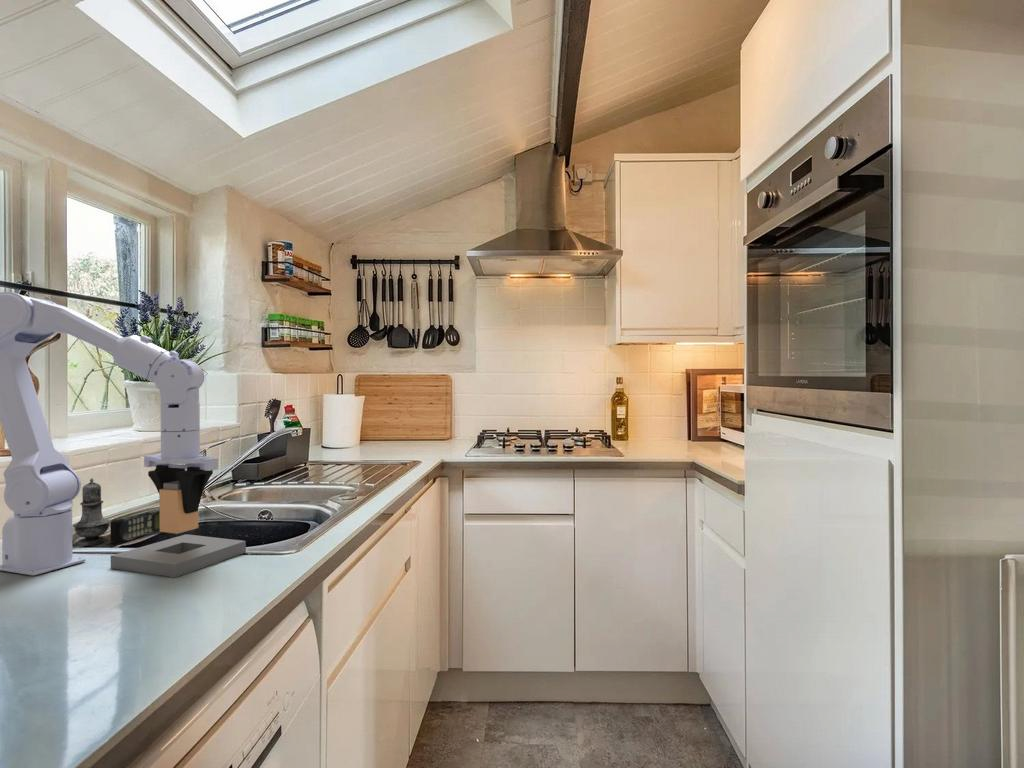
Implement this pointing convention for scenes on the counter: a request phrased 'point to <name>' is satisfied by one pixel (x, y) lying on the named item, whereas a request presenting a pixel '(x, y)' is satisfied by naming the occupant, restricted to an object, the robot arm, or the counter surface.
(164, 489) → the plug
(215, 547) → the socket plate
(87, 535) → the salt shaker
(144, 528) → the mobile phone
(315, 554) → the counter surface
